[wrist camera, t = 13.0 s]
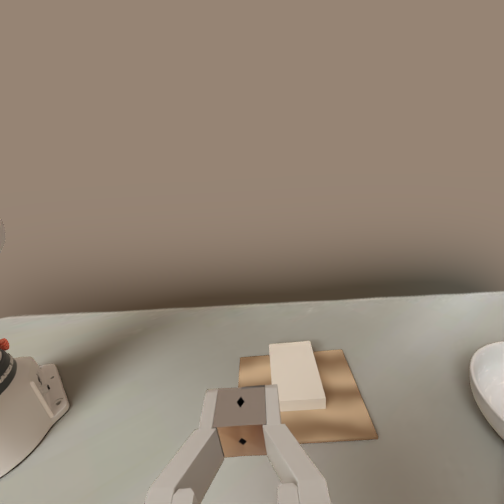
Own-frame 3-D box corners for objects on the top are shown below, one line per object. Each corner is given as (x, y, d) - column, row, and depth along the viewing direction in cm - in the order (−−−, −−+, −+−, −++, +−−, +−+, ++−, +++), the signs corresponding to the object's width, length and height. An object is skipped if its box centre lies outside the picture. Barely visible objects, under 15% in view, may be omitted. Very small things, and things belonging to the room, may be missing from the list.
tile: (325, 398, 39) (309, 340, 50) (273, 401, 39) (268, 344, 50) (325, 408, 40) (310, 350, 51) (274, 412, 40) (269, 353, 51)
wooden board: (377, 438, 35) (378, 436, 35) (235, 447, 37) (234, 445, 36) (341, 351, 50) (341, 349, 50) (240, 359, 51) (240, 357, 51)
